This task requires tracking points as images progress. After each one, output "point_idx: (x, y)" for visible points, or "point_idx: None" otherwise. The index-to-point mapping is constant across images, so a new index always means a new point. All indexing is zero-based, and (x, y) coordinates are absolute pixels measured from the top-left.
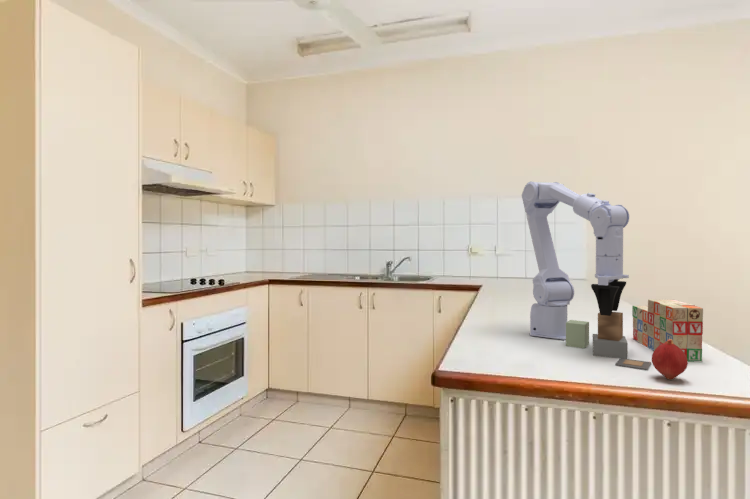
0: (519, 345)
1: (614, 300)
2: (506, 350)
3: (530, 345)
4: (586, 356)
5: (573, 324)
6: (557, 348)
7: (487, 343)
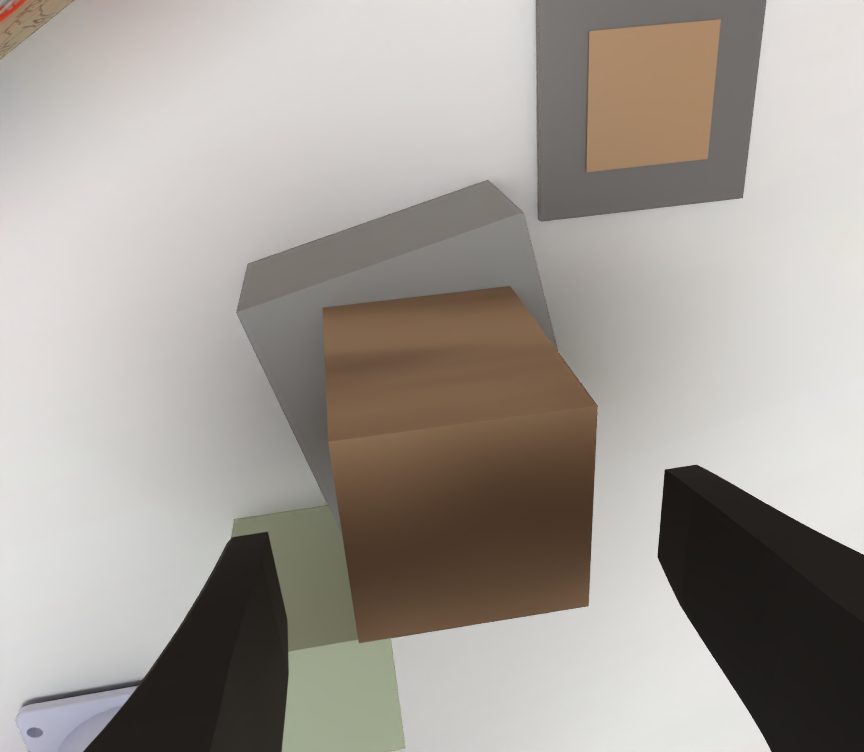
0: (560, 743)
1: (256, 672)
2: (706, 727)
3: (522, 714)
4: None
5: (397, 696)
6: None
7: None
